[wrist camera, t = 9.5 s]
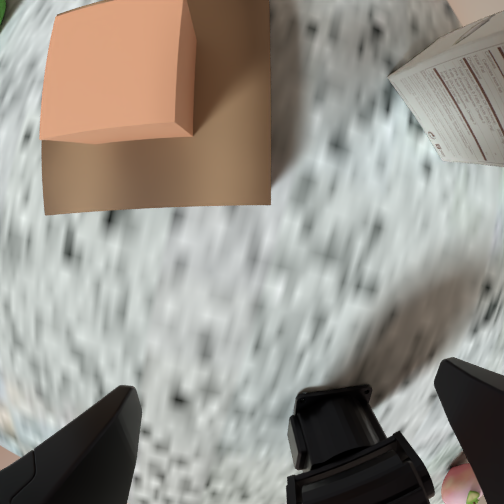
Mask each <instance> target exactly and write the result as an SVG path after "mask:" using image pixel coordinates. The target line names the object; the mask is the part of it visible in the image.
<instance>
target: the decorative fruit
mask: <svg viewBox="0 0 504 504" xmlns="http://www.w3.org/2000/svg"><path fill="white" fill-rule="evenodd" d="M441 494H442V499H443V501H444V503H445V504H477V503H478V501H479V500H478V499H479V498H480V497H481V496H482V495H483V492H482V490H481V488H480V485H479V483H478V481H477V479H476V476H475V474H474V472H473V470H472V468H471V466H470V463H466V464H462V465H459V466H455V467H452V468H451V469H450V470H449V472H448V473H447V475H446V477H445V479H444V481H443V484H442V489H441Z"/></svg>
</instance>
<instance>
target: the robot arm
mask: <svg viewBox="0 0 504 504" xmlns="http://www.w3.org/2000/svg"><path fill="white" fill-rule="evenodd" d="M434 386H435V389H436V391H437V394H438V396H439V399H440V401H441V403H442V406H443V408H444V411H445V413H446V416H447V418H448V421H449V423H450V425H451V427H452V429H453V431H454V433H455V435H456V437H457V439H458V441H459V443H460V445H461V447H462V449H463V451H464V453H465V455H466V457H467V459H468V461H469V463H470V466H471V468H472V470H473V472H474V474H475V476H476V479H477V481H478V483H479V485H480V488H481V490H482V492H483V495H484V497H485V499H486V502H487V504H504V376H503V375H501V374H498V373H495V372H492V371H490V370H487V369H484V368H481V367H479V366H476V365H473V364H471V363H468V362H465V361H463V360H460V359H457V358H454V357H451V358H447V359H444V360H442V362H441V363H440V366H439V369H438V371H437V374H436V377H435V380H434ZM371 393H372V388H371V386H370V385H361V386H355V387H349V388H343V389H336V390H329V391H321V392H313V393H304V394H299V395H298V396H297V397H296V400H295V408H294V415H292V416H291V417H290V418H289V426H288V440H289V444H290V449H291V453H292V458H293V462H294V467H295V469H297V470H303V473H301V474H298V475H292V476H288V477H287V483H288V485H287V486H286V493H287V504H430V502H429V499H430V498H431V497H433V496H434V495H435V491H434V486H433V483H432V480H431V477H430V475H429V473H428V471H427V469H426V467H425V465H424V463H423V462H422V460H421V459H420V458H419V456H418V455H417V454H416V452H415V451H414V449H413V448H412V447H411V445H410V444H409V443H408V441H407V440H406V439H405V437H404V436H403V435H402V433H401V432H400V431H398V432H396V433H394V434H393V435H392V436H390V437H388V438H387V437H386V435H385V433H384V431H383V429H382V427H381V425H380V424H379V422H378V420H377V418H376V416H375V414H374V412H373V411H372V409H371V407H370V405H369V400H370V397H371ZM302 399H304V400H302ZM141 418H142V408H141V405H140V401H139V398H138V394H137V391H136V389H135V387H133V386H127V385H120V386H118V387H117V388H115V389H114V390H113V391H111V392H110V393H109V394H107V395H106V396H105V397H103V398H102V399H101V400H100V401H98V402H97V403H96V404H94V405H93V406H92V407H90V408H89V409H88V410H86V411H85V412H83V413H82V414H81V415H79V416H78V417H77V418H75V419H74V420H73V421H71V422H70V423H69V424H67V425H66V426H65V427H63V428H62V429H61V430H59V431H58V432H56V433H55V434H54V435H52V436H51V437H50V438H48V439H47V440H45V441H44V442H43V443H41V444H40V445H39V446H37V447H36V448H34V450H31V451H30V452H29V453H27V454H26V455H24V456H23V457H21V458H20V459H19V460H17V461H15V462H14V463H12V464H11V465H9V466H8V467H6V468H4V469H2V470H1V471H0V504H127V500H128V496H129V491H130V487H131V482H132V478H133V473H134V469H135V465H136V460H137V452H138V443H139V434H140V426H141Z"/></svg>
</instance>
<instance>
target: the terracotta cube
mask: <svg viewBox="0 0 504 504" xmlns="http://www.w3.org/2000/svg"><path fill="white" fill-rule="evenodd" d="M196 46H197V39H196V35H195V31H194V27H193V23H192V19H191V15H190V11H189V7H188V3H187V0H114V1H109V2H105V3H101V4H97V5H93V6H89V7H85V8H82V9H78V10H75V11H72V12H69V13H65V14H62V15H59V16H56V17H55V21H54V26H53V30H52V35H51V40H50V45H49V50H48V56H47V62H46V68H45V76H44V83H43V92H42V103H41V117H40V140H52V141H65V142H76V143H86V144H102V143H110V142H120V141H130V140H142V139H155V138H172V137H193V111H194V83H195V63H196Z"/></svg>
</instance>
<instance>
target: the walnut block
mask: <svg viewBox="0 0 504 504" xmlns="http://www.w3.org/2000/svg"><path fill="white" fill-rule="evenodd" d="M109 1H114V0H104V1H100V2H96V3H92V4H89V5H85V6H82V7H79V8H76V9H72V10H69V11H66V12H63V13H61V14H58V15H57V16H59V15H62V14H65V13H69V12H72V11H75V10H78V9H82V8H85V7H89V6H93V5H97V4H101V3H105V2H109ZM187 3H188V7H189V11H190V15H191V19H192V23H193V27H194V31H195V35H196V39H197V46H196V63H195V83H194V111H193V137H172V138H155V139H142V140H130V141H120V142H110V143H102V144H86V143H76V142H65V141H52V140H42V183H43V198H44V210H45V215H56V214H68V213H80V212H93V211H108V210H124V209H142V208H163V207H189V206H226V205H271V68H270V13H269V0H187Z"/></svg>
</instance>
